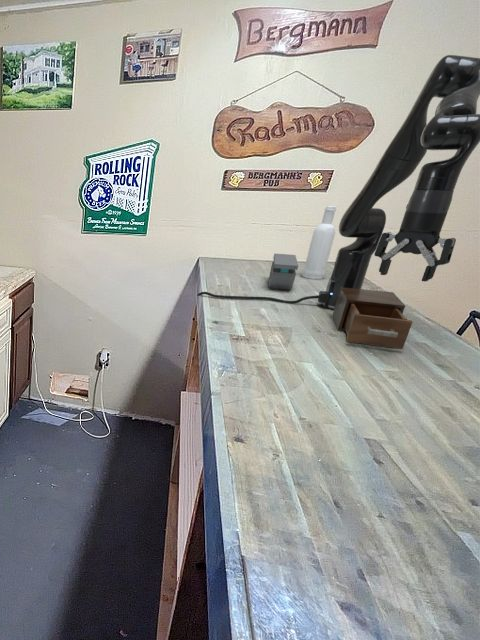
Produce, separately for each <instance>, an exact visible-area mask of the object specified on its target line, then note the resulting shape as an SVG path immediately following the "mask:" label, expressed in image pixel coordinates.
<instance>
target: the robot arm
mask: <svg viewBox="0 0 480 640" xmlns="http://www.w3.org/2000/svg"><path fill="white" fill-rule="evenodd" d="M433 67H434V68H433V69H432V70H431V72H430V73H429V76H428V78H427V79H426V81H425V83H424V84H423V86H422V87H421V90H420V92H419V93H418V95H417V97H416V99H415V101H414V103H413V105H412V107H411V108H410V111H409V112H408V114H407V116H406V118H405V119H404V121H403V122H402V124H401V126H399V129H398V130H397V132H396V134H395V135H394V137H393V138H392V140H391V141H390V143H389V144H388V146H387V148H386V149H385V151H384V152H383V154H382V156H381V157H380V159H379V161H378V162H377V164H376V166H375V168H374V170H373V171H372V173H371V174H370V176H369V178H368V179H367V180H366V182H365V184H364V185H363V187H362V189H361V190H360V191H359V193H357V195H356V197H355V198H354V200H352V202H351V204H350V205H349V206H348V208H347V209H346V211H345V212H344V213H343V215H342V217H341V218H340V221H339V224H338V233H339V235H340V236H341V237H344V238H351V239H352V238H355V240H354V241H353V242H351V243H349V244H348V245H346V246H343V247H340V248H339V249H338V251H337V254H336V258H335V262H334V265H333V268H332V272H331V275H330V277H329V279H328V281H327V285H326V289H325V291H324V290H319V293H318V295H317V294H316V295H308V296H303V297H301V298H299V299H297V300H285V299H281V298H275V297H271V296H270V297H269V296H249V295H248V296H245V295H243V296H242V295H224V294H223V295H221V294H220V295H219V294H215V293H211V292H208V291H201V292H199V293H197V294H196V296H198V297H200V296H202V295H207V296H209V297H212V298H215V299H216V298H217V299H235V300H236V299H237V300H265V301H274V302H278V303H283V304H299V303H301V302H302V301H305V300H313V299H317V303H321V305H322V307H323V309H325V308H326V309H330V310H334V308H335V305H336V301H337V298H338V294H339V291H340V288H341V287H343V288H353V289H363V288H362V287H363V285H364V282H365V281H364V280H365V278H366V275H367V271H368V268H369V265H370V262H371V259H372V256H373V255H374V256H375V257H377V258H379V259H381V262H380V264H379V268H378V272H379V273H380V275H381V276H386V275H388V273H389V269H390V267H391V263H392V258H393V257H395V256H397V255H398V254H400V253H403V254H413V255H421V256H423V258H424V259H425V261H426V263H427V265H426V266H425V269H424V272H423V275H422V278H421V282H429V280H432V279H433V278H434V275H435V273H436V270H437V268H438V266H444V265H447V264H449V263H450V262H451V258H452V256H453V251H454V248H455V245H456V241H457V239H456V238H455V237H450V238H443V237H441V236H440V234H441V232H442V229H443V226H444V224H445V221H446V219H447V215H448V212H449V209H450V207H451V204H452V201H453V195H454V190H455V188H456V186H457V182H458V180H459V177H460V175H461V172H462V171H463V168H464V166H465V164H466V163H467V161H468V160H469V158H470V156H471V155H472V153H473V152H474V151H475V149H476V147H477V146H478V145H479V144H480V113H477V111H478V110H477V109H478V100H479V98H480V57H473V56H467V55H466V56H465V55H458V54H457V55H456V54H447V55H445V56H443V57H442V58H441V59H440V60H439V61H438V62H437V63H436V65H435V66H433ZM434 98H438V99H441V100H440V101H439V102H438V104H437V106H436V109H435V111H434V116H433V117H432V118H431V119H430V120H429V121H428V111H429V106H430V104H431V102H432V100H433V99H434ZM427 121H428V122H427ZM428 151H456V152H455V153H454V154H453V155H452V156H451V157H449V158H447V159H444V160H443V159H442V160H436V161H431V162H427V163H425V164H423V165H422V167H421V168H420V170H419V173H418V175H417V178H416V179H417V180H416V181H415V186H414V188H413V191H412V193H411V195H410V197H409V200H408V203H407V204H406V207H405V212H404V215H403V218H402V221H401V224H400V228H399V231H398V232H397V233H392V232H391V231H386V232H384V229H385V226H386V222H387V214H386V212H385V211H384V210H383V209H382V208H378V207H374V206H375V205H377V203H378V201H380V200H381V199H382V198H383V197H385V195H387V194H388V193H390V192H391V191H393V190H394V189H395V188H397V187H399V186H400V185H401V184H402V183H404V182H405V181H406V180H407V179H408V178H410V177H411V176H412V174H414V172H415V171H416V169H417V167H418V166H419V165H420V163H421V161H423V159H424V157H425V156H426V154H427V152H428ZM393 240H394V241H395V243H396V244H397V245H395V246H393V247H392V248H391V249H389V251H387V252H386V250H387V248H388V245H389V243H390V242H392V241H393ZM438 244H440V245H439V246H440V248H441V249H442V251H441V253H440V257H439V259H438V256H437V254H436V252H435V249H434V247H435V246H437V245H438Z"/></svg>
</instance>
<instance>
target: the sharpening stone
mask: <svg viewBox="0 0 480 640" xmlns="http://www.w3.org/2000/svg"><path fill="white" fill-rule="evenodd" d="M272 259H273V261H272V262H271V267H270V271H269V275H268V276H269V277H268V282H267V283H268V285H267V287H268V288H269V289H276V290H288V291H291V290H292V288H293V285H294V282H295V280H296V276H297V273H296V271H298V268H299V264H298V259H297V256H296V254H286V253H273V257H272Z"/></svg>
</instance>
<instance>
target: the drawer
mask: <svg viewBox="0 0 480 640" xmlns="http://www.w3.org/2000/svg"><path fill="white" fill-rule="evenodd" d="M413 322H414V321H413V320H411V319H407V318H406V316H405V315H404V313H403V314H402V313H401V312H400V310H399V309H398V308H396V307H386V306H377V305H368V304H358V303H350V304H349V308H348V311H347V314H346V317H345V321H344V324H343V326H344V328H345V330H346V331H345V333H346V335H347V336H346V339H345V341H346V342H348V343H355V344H363V345H370V346H377V347H384V348H391V349H397V350H398V349H399V350H403V349H404V347H405V344H406V342H407V338H408V336H409V333H410V331H411V328H412V325H413Z"/></svg>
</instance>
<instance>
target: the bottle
mask: <svg viewBox="0 0 480 640" xmlns="http://www.w3.org/2000/svg"><path fill="white" fill-rule="evenodd" d="M336 211H337V206H336V205H326V206H325V208H324V213H323V215H322V220H321V223H320V224H318V225H317V226H316V227H315V228H314V230H313V232H312V236H311V241H310V244H309V248H308V252H307V255H306V256H307V257H306V260H305V263H304V267H303V270H302V275H301V276H302V277H303V278H306V279H311V280H322V279H324V276H325V273H326V268H327V265H328V261H329V258H330V253H331V250H332V246H333V243H334V239H335V236H336V227H335V225H334V224H333V221H334V217H335V213H336Z"/></svg>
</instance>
